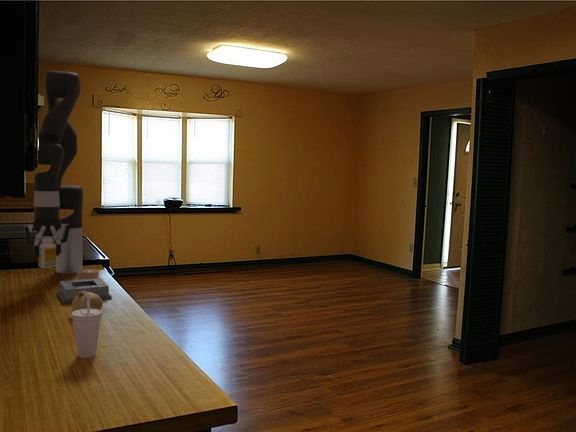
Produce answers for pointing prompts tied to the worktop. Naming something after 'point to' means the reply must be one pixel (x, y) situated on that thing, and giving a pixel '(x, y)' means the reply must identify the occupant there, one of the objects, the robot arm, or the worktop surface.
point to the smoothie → (86, 329)
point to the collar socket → (83, 289)
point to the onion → (81, 301)
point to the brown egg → (87, 274)
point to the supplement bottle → (47, 252)
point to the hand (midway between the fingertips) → (47, 255)
